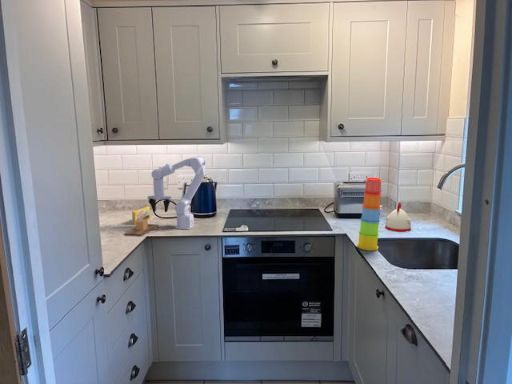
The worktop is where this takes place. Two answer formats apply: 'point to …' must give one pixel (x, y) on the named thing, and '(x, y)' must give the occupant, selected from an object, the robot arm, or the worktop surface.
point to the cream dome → (398, 221)
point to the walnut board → (141, 232)
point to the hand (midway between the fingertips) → (160, 211)
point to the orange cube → (141, 224)
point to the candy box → (141, 214)
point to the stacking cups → (370, 215)
